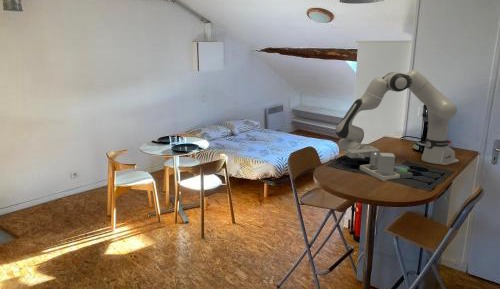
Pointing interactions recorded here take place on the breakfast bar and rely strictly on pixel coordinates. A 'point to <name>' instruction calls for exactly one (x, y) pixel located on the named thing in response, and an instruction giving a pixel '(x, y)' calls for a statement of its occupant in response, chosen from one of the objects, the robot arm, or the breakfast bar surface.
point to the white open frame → (375, 173)
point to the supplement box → (386, 164)
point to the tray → (400, 166)
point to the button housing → (402, 176)
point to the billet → (374, 160)
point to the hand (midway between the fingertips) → (371, 156)
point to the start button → (403, 170)
